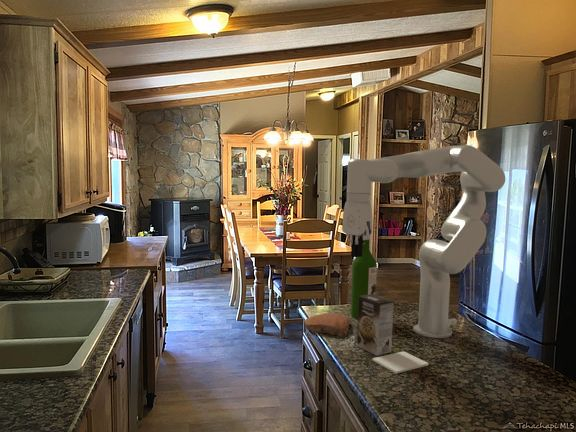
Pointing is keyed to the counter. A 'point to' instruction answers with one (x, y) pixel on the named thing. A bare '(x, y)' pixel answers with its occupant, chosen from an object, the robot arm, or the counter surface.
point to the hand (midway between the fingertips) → (356, 256)
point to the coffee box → (375, 324)
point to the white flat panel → (400, 362)
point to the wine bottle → (363, 277)
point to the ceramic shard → (328, 324)
